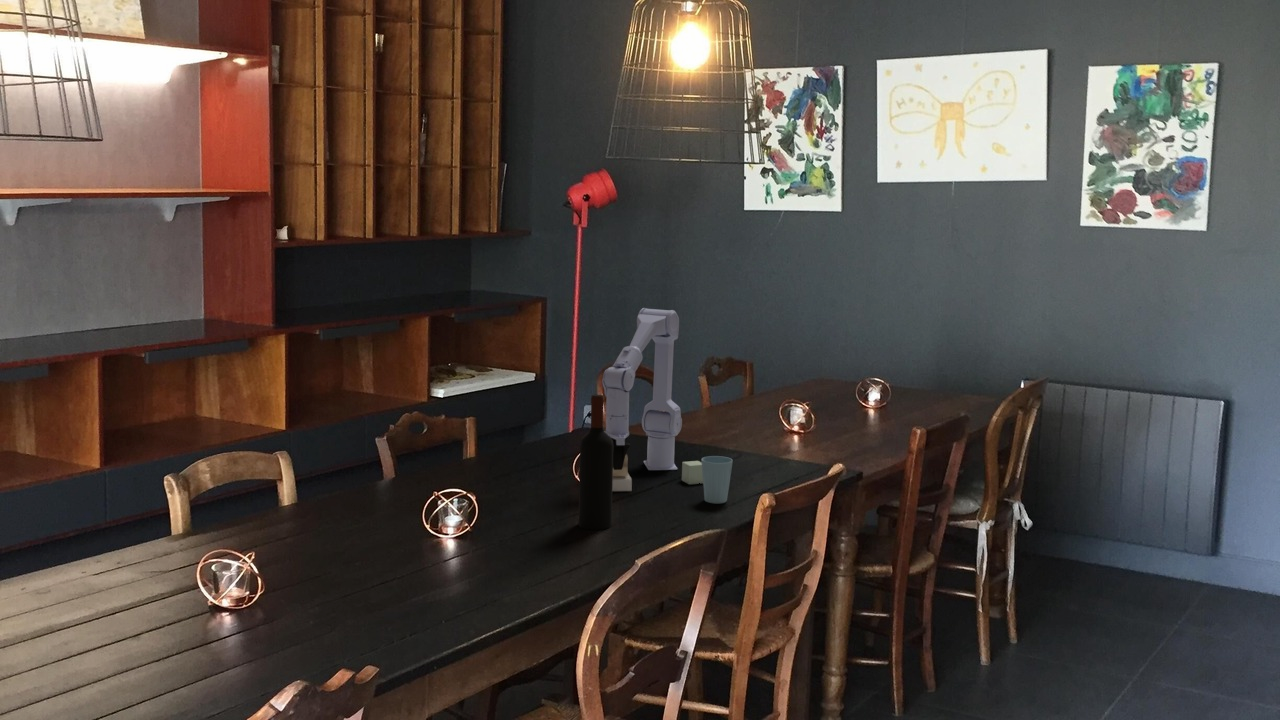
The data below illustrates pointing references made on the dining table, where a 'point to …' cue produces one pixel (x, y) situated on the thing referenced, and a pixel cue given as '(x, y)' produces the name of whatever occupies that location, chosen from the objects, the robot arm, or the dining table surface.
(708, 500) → the cup
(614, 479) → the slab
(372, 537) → the dining table surface
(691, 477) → the sage block
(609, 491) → the wine bottle
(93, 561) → the dining table surface
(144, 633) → the dining table surface
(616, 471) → the oak block
